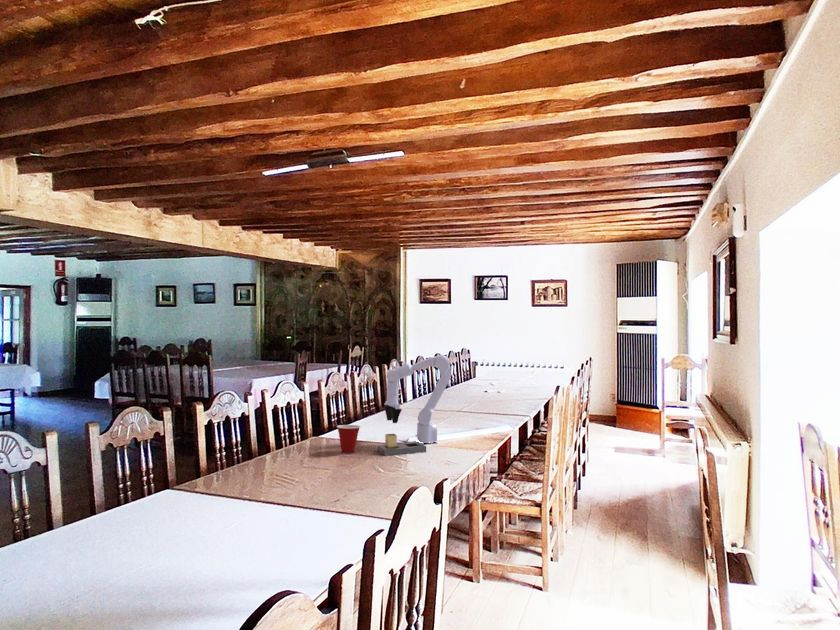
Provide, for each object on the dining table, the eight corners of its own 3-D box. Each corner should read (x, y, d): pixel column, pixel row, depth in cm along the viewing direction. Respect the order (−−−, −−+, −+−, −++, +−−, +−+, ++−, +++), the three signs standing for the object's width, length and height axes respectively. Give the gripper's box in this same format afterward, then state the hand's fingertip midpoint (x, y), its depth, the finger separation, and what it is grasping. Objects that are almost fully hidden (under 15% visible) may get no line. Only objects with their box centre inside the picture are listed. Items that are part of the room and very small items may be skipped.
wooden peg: (393, 451, 248) (393, 433, 248) (396, 453, 244) (396, 435, 244) (385, 451, 246) (385, 434, 247) (388, 453, 243) (388, 436, 243)
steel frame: (417, 447, 256) (417, 441, 256) (426, 451, 247) (426, 446, 247) (377, 450, 248) (377, 445, 248) (384, 455, 239) (384, 450, 239)
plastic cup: (362, 449, 251) (362, 423, 251) (357, 455, 240) (357, 428, 240) (339, 448, 252) (339, 422, 252) (333, 454, 241) (333, 427, 241)
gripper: (380, 392, 272) (379, 419, 272) (390, 396, 259) (389, 424, 259) (393, 392, 275) (392, 418, 275) (403, 395, 262) (403, 423, 262)
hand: (392, 421), depth 267 cm, fingers open, 7 cm apart
